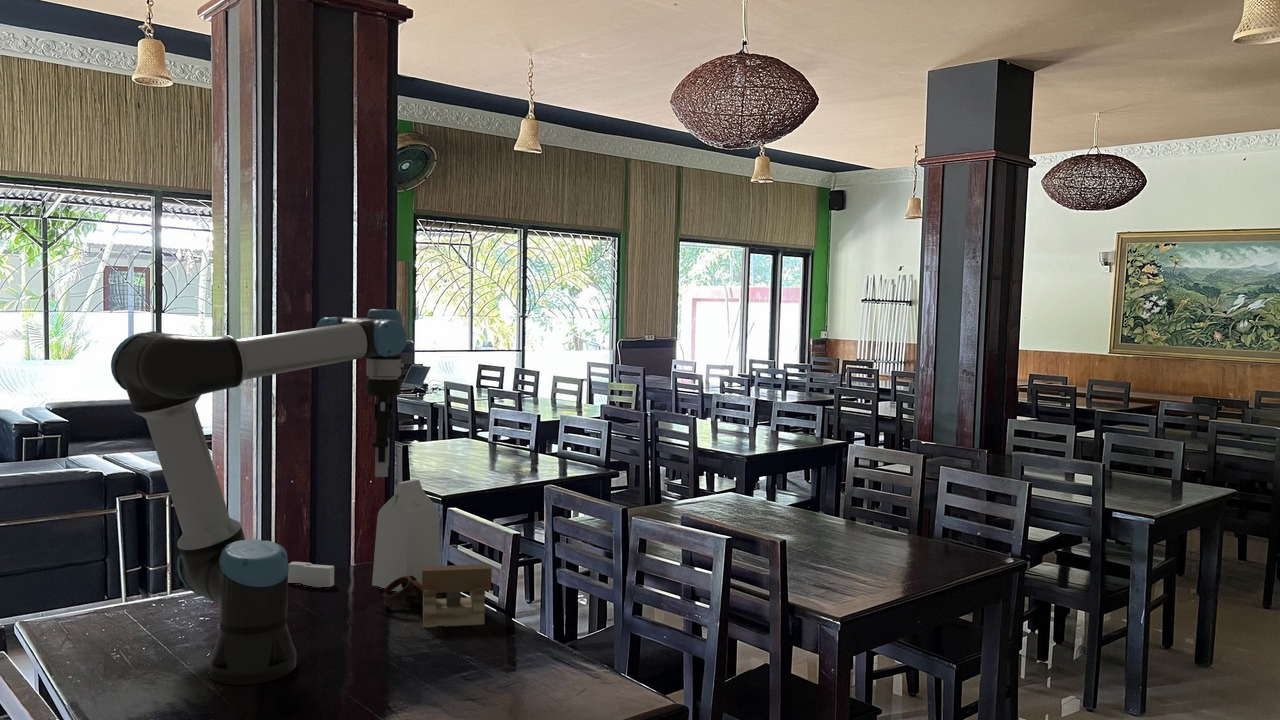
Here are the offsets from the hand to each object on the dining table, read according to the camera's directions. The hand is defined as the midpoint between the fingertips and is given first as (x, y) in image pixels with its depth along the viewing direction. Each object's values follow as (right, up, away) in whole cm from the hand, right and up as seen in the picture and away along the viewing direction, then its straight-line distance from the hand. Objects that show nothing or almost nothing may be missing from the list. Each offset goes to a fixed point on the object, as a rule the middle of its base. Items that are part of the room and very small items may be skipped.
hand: (382, 471), depth 206 cm
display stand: (+17, -33, -3) cm, 37 cm away
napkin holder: (-23, -31, +19) cm, 43 cm away
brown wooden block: (+18, -26, -3) cm, 31 cm away
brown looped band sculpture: (+5, -32, +4) cm, 33 cm away
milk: (0, -31, +21) cm, 37 cm away
